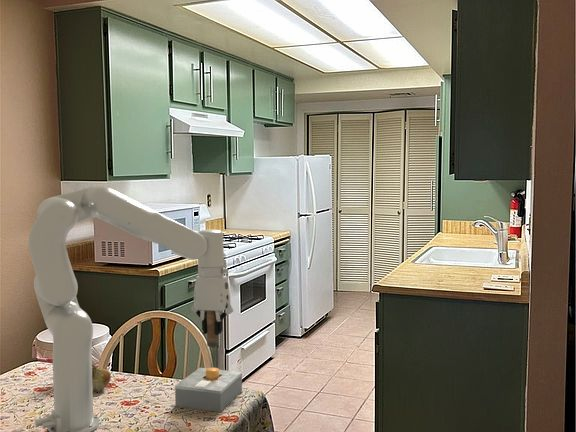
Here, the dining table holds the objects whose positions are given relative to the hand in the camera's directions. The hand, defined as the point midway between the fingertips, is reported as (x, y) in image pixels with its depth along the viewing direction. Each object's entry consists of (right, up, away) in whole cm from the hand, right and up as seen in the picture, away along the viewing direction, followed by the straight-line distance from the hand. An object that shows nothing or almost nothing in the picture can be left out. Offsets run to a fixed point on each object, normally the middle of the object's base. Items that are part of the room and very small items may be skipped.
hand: (212, 332), depth 173 cm
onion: (-36, -19, +7) cm, 41 cm away
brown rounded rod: (0, -4, 0) cm, 4 cm away
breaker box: (-1, -19, 0) cm, 19 cm away
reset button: (0, -15, +1) cm, 15 cm away
